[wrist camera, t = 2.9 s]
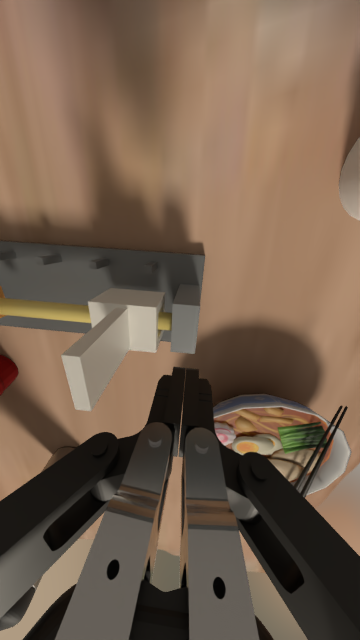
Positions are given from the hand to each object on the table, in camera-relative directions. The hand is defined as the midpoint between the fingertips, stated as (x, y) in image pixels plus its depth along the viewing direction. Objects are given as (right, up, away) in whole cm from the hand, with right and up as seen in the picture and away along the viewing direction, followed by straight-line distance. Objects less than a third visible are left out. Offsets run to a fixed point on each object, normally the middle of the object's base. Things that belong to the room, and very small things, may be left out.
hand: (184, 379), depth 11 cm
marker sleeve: (-5, +5, +10) cm, 12 cm away
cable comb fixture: (-13, +7, +14) cm, 21 cm away
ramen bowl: (+12, -14, +22) cm, 28 cm away
